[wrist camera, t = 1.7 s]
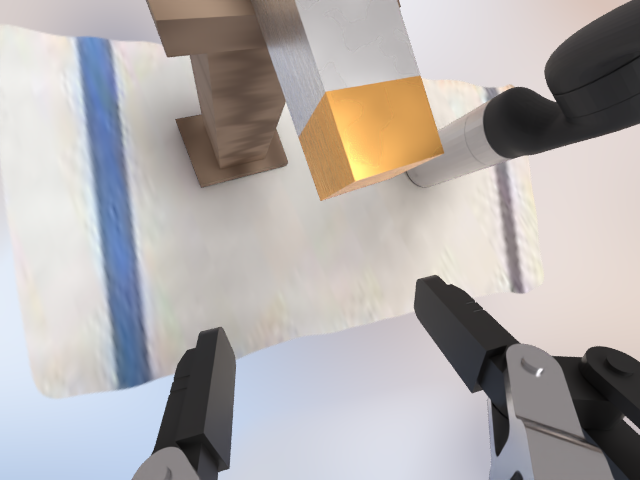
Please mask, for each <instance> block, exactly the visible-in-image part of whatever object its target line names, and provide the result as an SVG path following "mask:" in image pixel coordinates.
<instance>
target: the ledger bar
mask: <svg viewBox="0 0 640 480" xmlns="http://www.w3.org/2000/svg"><path fill="white" fill-rule="evenodd" d="M251 2H252V5H253V8H254V11H255V14H256V16H257V19H258V22H259V25H260V28H261V31H262V34H263V37H264V39H265V42H266V45H267V48H268V51H269V54H270V57H271V60H272V63H273V65H274V68H275V71H276V74H277V77H278V80H279V83H280V86H281V88H282V91H283V94H284V97H285V100H286V103H287V106H288V109H289V111H290V114H291V117H292V120H293V123H294V126H295V129H296V132H297V134H298V137H299V140H300V143H301V146H302V149H303V152H304V155H305V157H306V160H307V163H308V166H309V169H310V172H311V175H312V178H313V180H314V183H315V186H316V189H317V192H318V195H319V198H320V201H322V200H325V199H329V198H332V197H335V196H338V195H341V194H344V193H347V192H350V191H353V190H356V189H359V188H363V187H366V186H369V185H372V184H375V183H378V182H381V181H384V180H387V179H390V178H393V177H395V176H397V175H399V174H401V173H403V172H406V171H408V170H410V169H412V168H414V167H416V166H418V165H421V164H423V163H425V162H427V161H429V160H431V159H434V158H436V157H438V156H440V155H442V154H444V150H443V147H442V144H441V140H440V137H439V134H438V131H437V127H436V124H435V121H434V118H433V115H432V111H431V108H430V105H429V102H428V98H427V95H426V92H425V89H424V86H423V82H422V79H421V76H420V73H419V69H418V66H417V63H416V60H415V57H414V54H413V50H412V47H411V44H410V41H409V38H408V34H407V31H406V28H405V24H404V21H403V18H402V15H401V11H400V8H399V5H398V2H397V0H251Z"/></svg>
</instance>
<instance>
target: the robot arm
mask: <svg viewBox="0 0 640 480" xmlns="http://www.w3.org/2000/svg"><path fill="white" fill-rule="evenodd" d="M544 72H545V79H546V82H547V85H548V87H549V89H550V91H551V93H552V94H553V96H554V98H555V100H556V102H553V101H550V100H548V99H546V98H544V97H542V96H541V95H539V94H537V93H536V92H534V91H532V90H530V89H528V88H524V87H515V88H511V89H509V90H506V91H504V92H503V93H501V94H499V95H498V96H496V97H494V98H492V99H491V100H489V101H487V102H486V103H484V104H482V105H481V106H479V107H477V108H476V109H474V110H472V111H471V112H469V113H467V114H466V115H464V116H462V117H460V118H459V119H457V120H455V121H454V122H452V123H450V124H449V125H447V126H445V127H443V128H442V129H440V130H438V134H439V137H440V140H441V144H442V147H443V150H444V154H442V155H440V156H438V157H436V158H434V159H431V160H429V161H427V162H425V163H423V164H421V165H418V166H416V167H414V168H412V169H410V170H408V171H407V174H408V176H409V177H410V179H411V180H412V181H413V182H414V183H415V184H417V185H418V186H421V187H430V186H433V185H436V184H439V183H442V182H446V181H449V180H452V179H455V178H458V177H461V176H464V175H467V174H470V173H473V172H476V171H479V170H482V169H485V168H488V167H491V166H494V165H496V164H499V163H502V162H505V161H508V160H511V159H514V158H517V157H520V156H524V155H534V154H538V153H542V152H545V151H548V150H551V149H555V148H559V147H562V146H566V145H569V144H573V143H577V142H580V141H584V140H588V139H591V138H595V137H599V136H602V135H605V134H609V133H613V132H616V131H619V130H622V129H625V128H628V127H631V126H634V125H637V124H640V0H632V1H630V2H628V3H626V4H624V5H622V6H620V7H618V8H616V9H614V10H612V11H611V12H608V13H607V14H605V15H603V16H601V17H600V18H598V19H596V20H594V21H593V22H591V23H590V24H588V25H586V26H585V27H583V28H582V29H580V30H579V31H577V32H576V33H574V34H573V35H572V36H571V37H569V38H568V39H567V40H566V41H564V42H563V43H562V44H561V45H560V46H559V47H558V48H557V49H556V50H555V51H554V52H553V54H552V55H551V56H550V58H549V60H548V61H547V63H546V66H545V71H544ZM414 309H415V313H416V316H417V318H418V319H419V321H420V322H421V324H422V325H423V326H424V328H425V329H426V331H427V332H428V333H429V335H430V336H431V337H432V339H433V340H434V342H435V343H436V344H437V346H438V347H439V349H440V350H441V351H442V353H443V354H444V355H445V357H446V358H447V360H448V361H449V362H450V364H451V365H452V366H453V368H454V369H455V371H456V372H457V373H458V375H459V376H460V377H461V379H462V380H463V382H464V383H465V384H466V386H467V387H468V389H469V390H470V391H471V393H474V392H477V391H481V390H484V392H485V393H486V394H487V396H488V399H487V406H488V421H489V434H490V448H491V468H490V474H489V480H640V435H638V433H636V432H635V431H634V430H633V429H632V428H631V427H630V426H629V425H628V424H627V423H626V422H625V421H624V420H623V418H624V416H626V417H627V418H629V419H630V420H631V421H632V422H633V423H634V424H635V425H636V426H637V427H638V428H639V429H640V362H639V361H637V360H636V359H634V358H633V357H631V356H629V355H627V354H625V353H623V352H620V351H618V350H615V349H612V348H608V347H601V346H596V347H591V348H590V349H588V350H587V351H586V353H585V355H584V356H583V357H561V356H551V355H549V354H548V353H547V352H545V351H543V350H541V349H539V348H537V347H535V346H532V345H528V344H521V343H519V342H518V341H517V340H516V339H515V338H514V337H513V336H511V334H510V333H508V331H506V330H505V329H504V328H503V327H502V326H501V325H500V324H499V323H498V322H497V321H496V320H495V319H494V318H493V317H492V316H491V315H490V314H488V313H487V312H486V311H485V310H483V308H482V307H481V306H480V305H479V304H478V303H477V302H476V303H475V300H474V299H473V298H472V297H470V296H469V295H468V294H467V293H466V292H465V291H464V290H462V289H460V288H458V287H456V286H454V285H452V284H450V285H447V284H446V283H445V282H444V281H443V280H442V279H441V278H440V277H439V276H437V275H433V276H429V277H425V278H421V279H418V280H417V282H416V291H415V301H414ZM235 372H236V361H235V355H234V352H233V349H232V347H231V345H230V343H229V340H228V338H227V336H226V334H225V331H224V329H223V328H222V327H218V328H214V329H210V330H206V331H202V332H200V333H199V336H198V340H197V345H196V348H193V349H189V350H187V351H186V353H185V354H184V356H183V357H182V359H181V360H180V362H179V363H178V365H177V368H176V372H175V376H174V382H173V383H172V387H171V390H170V395H169V397H168V401H167V405H166V408H165V412H164V415H163V419H162V423H161V426H160V430H159V434H158V438H157V441H156V444H155V447H154V450H153V452H152V454H151V456H150V457H149V458H148V459H147V460H146V461H145V462H144V463H143V464H142V465H141V466H140V467H139V469H138V470H137V472H136V473H135V475H134V477H133V478H132V480H217V479H218V472H220V471H223V470H227V469H229V467H230V450H231V436H232V420H233V404H234V387H235Z"/></svg>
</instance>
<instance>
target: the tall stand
mask: <svg viewBox="0 0 640 480" xmlns="http://www.w3.org/2000/svg"><path fill="white" fill-rule="evenodd" d="M146 2H147V4H148V7H149V10H150V12H151V15H152V18H153V20H154V23H155V26H156V28H157V31H158V34H159V36H160V39H161V42H162V45H163V47H164V50H165V53H166V55H167V57H176V56H186V55H190V59H191V64H192V69H193V74H194V79H195V84H196V89H197V93H198V98H199V103H200V108H201V113H202V115H196V116H191V117H185V118H179V119H175V120H176V123H177V125H178V128H179V131H180V133H181V136H182V138H183V141H184V144H185V146H186V149H187V152H188V154H189V157H190V160H191V162H192V165H193V168H194V170H195V173H196V175H197V178H198V181H199V183H200V186H201V188H202V187H206V186H209V185H213V184H217V183H221V182H225V181H229V180H232V179H236V178H240V177H244V176H248V175H252V174H255V173H259V172H263V171H267V170H271V169H275V168H278V167H282V166H286V165H287V164H288V161H287V158H286V155H285V152H284V149H283V147H282V144H281V141H280V138H279V135H278V132H277V130H276V127H277V124H278V121H279V118H280V116H281V113H282V110H283V108H284V105H285V102H286V100H285V97H284V94H283V91H282V88H281V86H280V83H279V80H278V77H277V74H276V71H275V68H274V65H273V63H272V60H271V57H270V54H269V51H268V48H267V45H266V42H265V39H264V37H263V34H262V31H261V28H260V25H259V22H258V19H257V16H256V14H255V11H254V8H253V5H252V2H251V0H146ZM397 2H398V5H399V8H400V7H401V6H400V3H399V0H397Z"/></svg>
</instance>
